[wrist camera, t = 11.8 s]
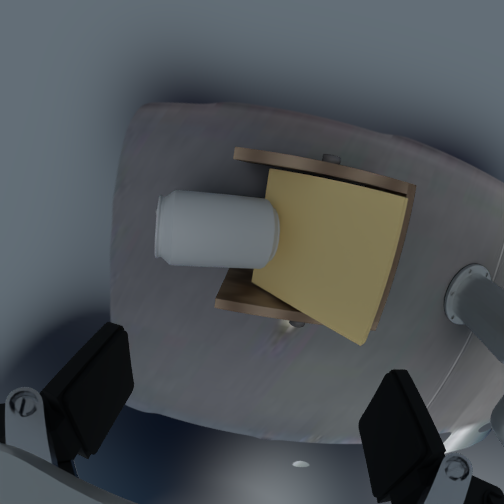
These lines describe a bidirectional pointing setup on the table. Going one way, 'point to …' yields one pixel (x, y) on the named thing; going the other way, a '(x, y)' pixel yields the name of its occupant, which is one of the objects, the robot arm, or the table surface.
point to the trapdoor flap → (332, 249)
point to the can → (216, 230)
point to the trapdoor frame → (240, 279)
